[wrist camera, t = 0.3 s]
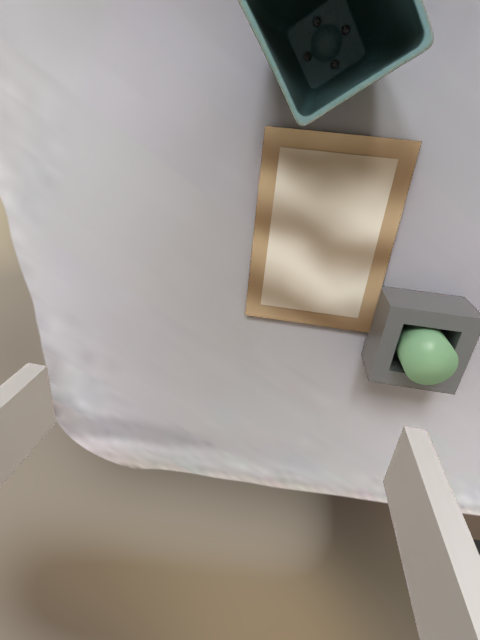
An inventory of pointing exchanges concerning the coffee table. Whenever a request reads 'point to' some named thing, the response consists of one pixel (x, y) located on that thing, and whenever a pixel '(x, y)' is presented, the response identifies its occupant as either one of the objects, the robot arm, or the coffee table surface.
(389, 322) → the button box
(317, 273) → the board
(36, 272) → the coffee table surface
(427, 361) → the button
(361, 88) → the flower pot
